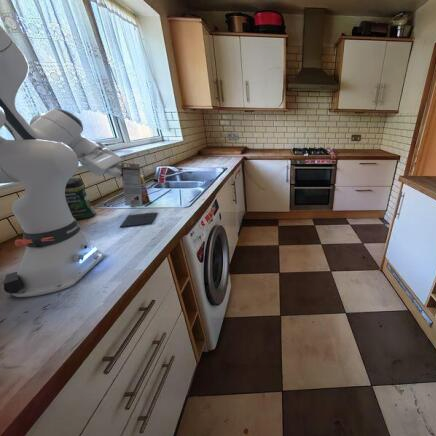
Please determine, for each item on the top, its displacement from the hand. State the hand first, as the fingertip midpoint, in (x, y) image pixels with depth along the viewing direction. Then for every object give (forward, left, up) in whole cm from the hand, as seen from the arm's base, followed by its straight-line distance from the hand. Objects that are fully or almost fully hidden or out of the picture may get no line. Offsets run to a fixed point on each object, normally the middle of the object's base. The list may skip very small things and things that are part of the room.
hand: (124, 174), depth 95 cm
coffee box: (-1, -1, -12) cm, 12 cm away
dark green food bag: (+12, +27, -22) cm, 36 cm away
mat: (0, 0, -21) cm, 21 cm away
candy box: (+22, +5, -22) cm, 31 cm away
